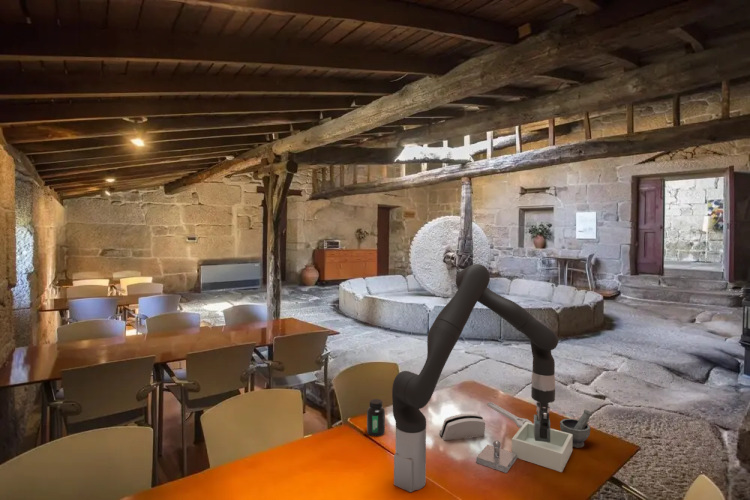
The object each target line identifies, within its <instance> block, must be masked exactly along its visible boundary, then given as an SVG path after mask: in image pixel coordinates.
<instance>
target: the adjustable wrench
mask: <svg viewBox="0 0 750 500" xmlns="http://www.w3.org/2000/svg"><path fill="white" fill-rule="evenodd" d="M486 404H487V407H489V408H490V409H493V410H494V411H495V412H497V413H499V414H501V415H503V416H504V417H506V418H508V419H510V420H511V421H513V422H514V423H515V424H516V426H517V427H518V428H519V429H520V428H521V427H522V426H523V425H524V423H525V422H529V423H532V424H534V422H532V421H531V420H529V419H528V418H523V417H522V418H521V417H518V416H517V415H515V414H513V413H511V412H510V411H508V410H506V409H505V408H503V407H500V406H499V405H497V403H496V404H495V403H494V402H491V401H488V402H487V403H486Z"/></svg>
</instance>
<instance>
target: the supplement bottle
mask: <svg viewBox="0 0 750 500" xmlns="http://www.w3.org/2000/svg"><path fill="white" fill-rule="evenodd" d="M385 426H386V411H385V408H384V407H383V400H382V399H379V398H372V399H371V400H369V407H368V408H367V410H366V432H367V434H368V435H369V436H371V437H381V436H383V435H384V434H385V431H386V427H385Z"/></svg>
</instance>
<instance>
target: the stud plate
mask: <svg viewBox="0 0 750 500" xmlns="http://www.w3.org/2000/svg"><path fill="white" fill-rule="evenodd" d="M517 459H518V458H517V454H516V453H513V452H512V451H510V450H506V449H503V448H501V442H500V441H499V440H494V441H493V443H492V445H490V444H486V446H485V447H484V448H483V449H482V450H481V451H480V452H479V453H478V455H477V456H476V462H475V463H476V464H479V465H481V466H484V467H488V468H491V469H494V470H497V471H498V472H501V473H505V474H507V473H508V472H509V470H510V469H511V467H512V466H513V465H514V463H515V462H516V461H517Z"/></svg>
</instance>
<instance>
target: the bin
mask: <svg viewBox="0 0 750 500" xmlns="http://www.w3.org/2000/svg"><path fill="white" fill-rule="evenodd" d="M532 423H533V422H532ZM532 423H529V422H525V423H524V425H523V426H522V427H521V428H519V429H518V431H516V433H515V434H514V436H513V437H512V438H511V452H513V453H516V454H517V459H519V460H523V461H526V462H529V463H532V464H534V465H538V466H541V467H544V468H547V469H550V470H554V471H556V472H559V473H563V471H564V469H565V467H566V465H567V463H568V461H569V459H570V457H571V455H572V452H573V447H572V446H573V434H570V433H566V432H562V431H561V430H558V429H555V428H551V427H550V442H542V441H535V438H534V423H533V424H532Z"/></svg>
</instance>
